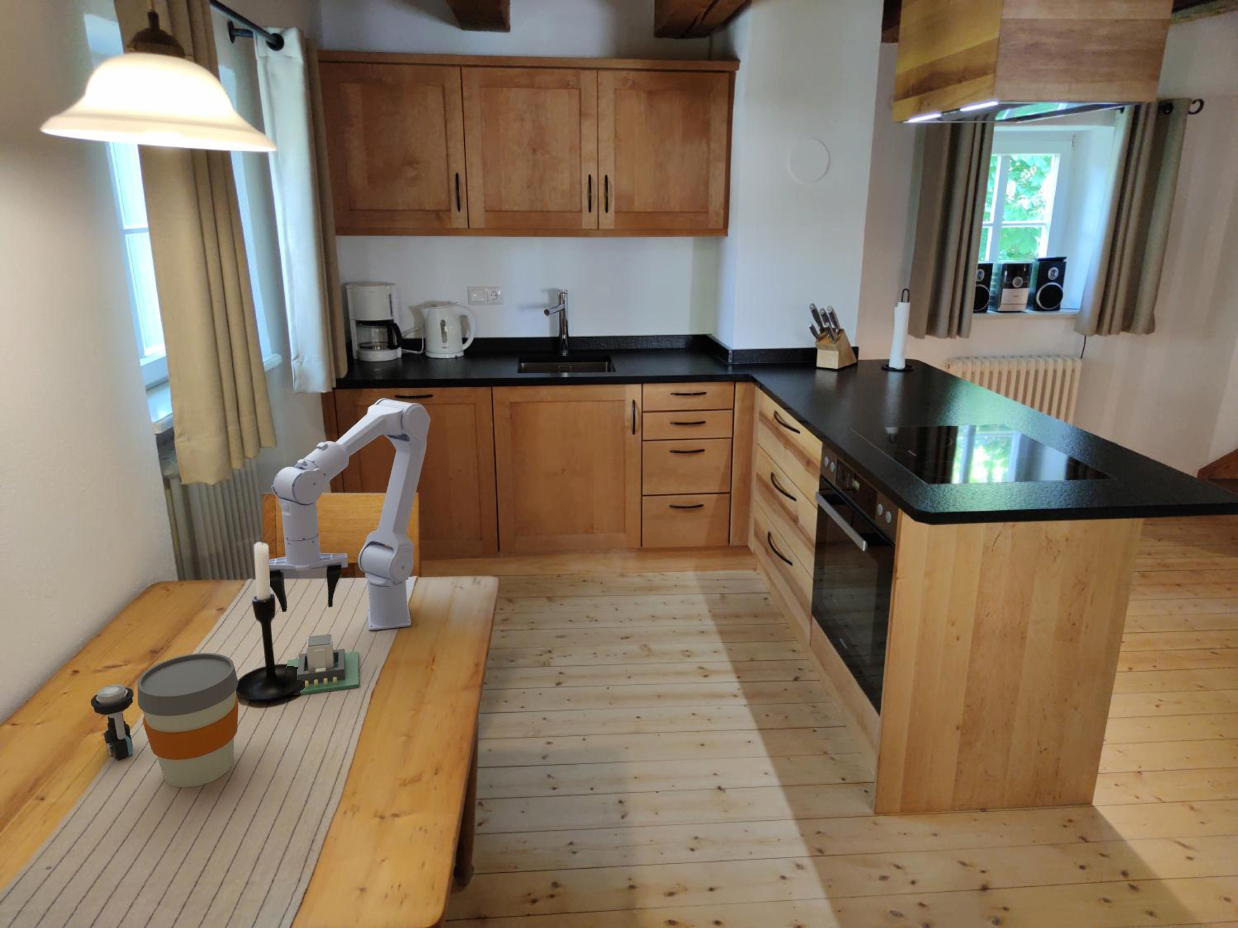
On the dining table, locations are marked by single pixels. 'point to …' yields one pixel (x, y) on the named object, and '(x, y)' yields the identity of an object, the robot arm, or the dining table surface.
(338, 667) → the header socket
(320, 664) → the plug
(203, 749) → the reusable coffee cup
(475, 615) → the dining table surface
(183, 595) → the dining table surface
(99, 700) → the push button
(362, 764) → the dining table surface
